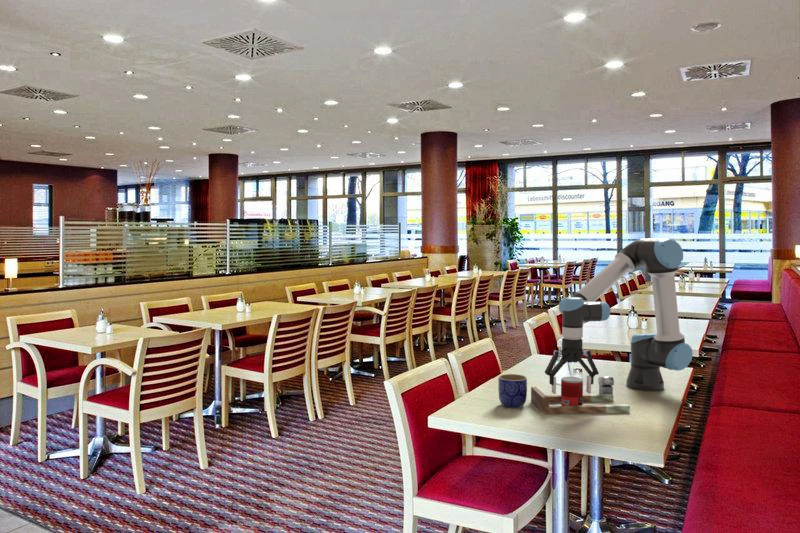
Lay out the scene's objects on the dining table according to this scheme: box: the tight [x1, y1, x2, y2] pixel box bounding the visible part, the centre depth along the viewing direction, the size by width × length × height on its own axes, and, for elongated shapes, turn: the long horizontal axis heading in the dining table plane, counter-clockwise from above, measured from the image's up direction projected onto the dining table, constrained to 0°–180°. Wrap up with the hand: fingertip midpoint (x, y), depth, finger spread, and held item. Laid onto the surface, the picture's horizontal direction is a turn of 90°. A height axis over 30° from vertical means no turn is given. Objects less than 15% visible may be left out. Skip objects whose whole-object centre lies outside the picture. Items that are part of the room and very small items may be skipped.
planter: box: [497, 373, 528, 409], centre depth 235 cm, size 11×11×11 cm
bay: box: [530, 386, 631, 416], centre depth 232 cm, size 32×17×6 cm, turn 93°
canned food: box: [560, 376, 584, 406], centre depth 232 cm, size 8×8×11 cm
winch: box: [597, 376, 615, 396], centre depth 245 cm, size 5×4×9 cm
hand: (571, 393), depth 232 cm, fingers open, 13 cm apart
